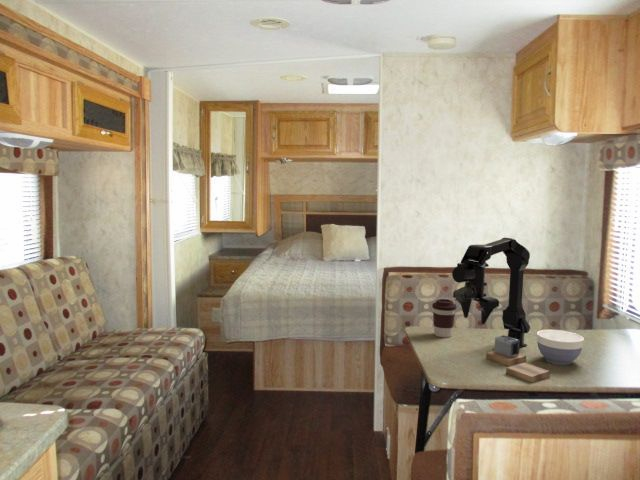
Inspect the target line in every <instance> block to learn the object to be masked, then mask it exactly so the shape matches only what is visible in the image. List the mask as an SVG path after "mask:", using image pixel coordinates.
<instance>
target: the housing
mask: <svg viewBox="0 0 640 480" xmlns="http://www.w3.org/2000/svg"><path fill="white" fill-rule="evenodd" d="M519 343H520V340H518V339H514V338H511V337H508V335H503V334H502V335H500V336H496V337H494V349H493V351H494V353H496V354H499V355H502V356H505V357H508V358H513V357H517V356H519V354H520V348H519Z"/></svg>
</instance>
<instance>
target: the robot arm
mask: <svg viewBox="0 0 640 480" xmlns="http://www.w3.org/2000/svg"><path fill="white" fill-rule="evenodd" d="M500 253H503V254H504V255H505V258H506V264H507V266H508V268H509V270H510V271H509V272H510V273H509V286H508V287H509V290H508V291H509V292H508V303H507V304H508V305H507V307H505V309H502V316H501V317H502V318H501V320H502V324H503V329H505V330H508V331H507V336H508V337H511V338H514V339H518V340H520V343H519V349H520V348H523V347H527V346H528V344H526V343H525V334H528V333H529V332H530V330H531V325H530V324H529V322H528V321H527V319H526V317H527V315H526V311H525V310H524V308H523V306H522V304H523V290H524V289H523V286H524V271H525V269H526V268H527V266H528V265H529V263H530V256H531V254H530V251H529V249H527V248H526V247H525V246H524V245H522V244H521V243H519V242H518V241H517V240H516V239H515V238H511V237H502V238H500V239H497V240H494V241H492V242H489V243H485V244H469V245H468V247H467V249H466V250H465V253H464V254H463V256H462V258H461V260H460V262H459V263H456V264H457V265H456V266H455V267H454V268H453V271H451V275H452V278H453V281H455V282H456V283H458V284H459V283H464V286H462V287H460V288H458V289H455V290H453V293H452V298H454V299H455V301H457V302H458V303H459V305H460V307H461V310H462V314H463V318H464V319H467V318H468V317H469V313H470V309H471V304H472V301H475V302H477V303H478V304H479V306H478V308H479V309H480V313H481V314H480V315H481V316H480V320H481V323H480V324H481V325H485V324H486V322H487V320H489V317H490V315H491V313H492V312H493V311H494V309H497V308H499V307H500V300H499V299H498V298H497V297H496V298H495V297H492V296H487V293H485V287H486V286H487V285H488V283H487V282H485V277H486V276H485V274H486V272H485V271H486V268H488V267H490V266H489V264H488V263H487V261H488V260H490V259H491V257H492V256H494V255H496V254H500Z"/></svg>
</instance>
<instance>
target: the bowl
mask: <svg viewBox="0 0 640 480" xmlns="http://www.w3.org/2000/svg"><path fill="white" fill-rule="evenodd" d="M584 340H585V338H584V337H583V336H582V335H580V334H578V333H575V332H573V331H568V330H561V329H541V330H538V331H537V332H536V341H537V342H536V343H537V347H538V350H539V352H540V354H541V355H542V357H544V359H545V361H546V362H548V363H551V364H554V365H562V366H567V365H571V364H572V363H573V362H574V361H575V360H577V358H579V356H580V354H581V353H582V350H583V347H584V342H585V341H584Z"/></svg>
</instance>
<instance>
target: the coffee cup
mask: <svg viewBox="0 0 640 480" xmlns="http://www.w3.org/2000/svg"><path fill="white" fill-rule="evenodd" d="M431 305H432V308H433V312H432V313H433V314H432V315H433V316H432V317H433V319H432V320H433V335H435V336H436V337H438V338H450V337H452V336H453V327H454V324H455V316H456V312H455V311H456V310H457V307H458V306H457V304H455V303H454V301H453V300H451V299H446V298H439V299H436V300H435V302H433V303H432V304H431Z"/></svg>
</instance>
